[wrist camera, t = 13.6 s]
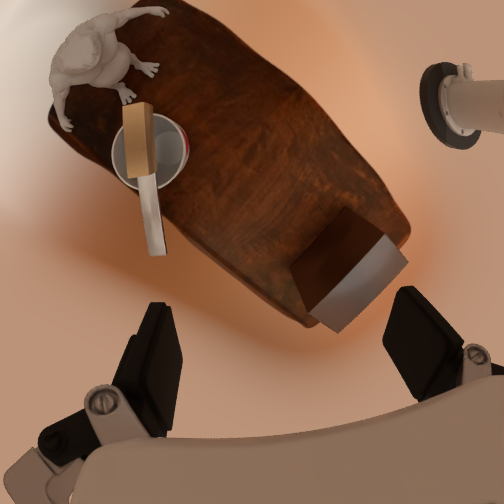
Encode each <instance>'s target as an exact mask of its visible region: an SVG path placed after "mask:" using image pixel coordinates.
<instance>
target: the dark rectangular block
mask: <svg viewBox="0 0 504 504" xmlns="http://www.w3.org/2000/svg"><path fill="white" fill-rule="evenodd" d="M407 264H408V261H407V259H406V258H405V257H404V256H403V254H402V253H401V252H400V251H399V249H398V248H397V247H396V246H395V244H394V243H393V242H392V241H391V240H390V239H389V237H388V236H387V235H386V234H385V233H384V232H382V231H381V230H380V229H378V228H377V227H375V226H374V225H373V224H371V223H370V222H368V221H367V220H365V219H364V218H363V217H361V216H360V215H358V214H357V213H355V212H354V211H352V210H351V209H349V208H348V207H345V208H344V209H343V210H342V211H341V212H340V213H339V214H338V216H337V217H336V218H335V219H334V220H333V221H332V222H331V223H330V224H329V226H328V227H327V228H326V229H325V230H324V231H323V232H322V233H321V234H320V235H319V237H318V238H317V239H316V240H315V241H314V242H313V243H312V244H311V245H310V246H309V247H308V249H307V250H306V251H305V252H304V253H303V254H302V255H301V256H300V257H299V258H298V259H297V260H296V261H295V263H294V264H293V265H292V266H291V267H290V268H289V269H290V271H291V274H292V276H293V279H294V281H295V283H296V286H297V288H298V291H299V293H300V295H301V298H302V300H303V303H304V305H305V308H306V310H307V313H308V314H309V315H311V316H312V317H314V318H315V319H317V320H318V321H320V322H321V323H323V324H324V325H325V326H327V327H328V328H330V329H332V330H333V331H335V332H336V333H339V332H340V331H342V330H343V329H344V328H345V327H346V326H347V325H348V324H349V323H350V322H351V321H352V320H353V319H354V318H356V317H357V316H358V314H360V313H361V312H362V311H363V310H364V309H365V308H366V307H367V306H368V305H369V304H370V303H371V302H372V301H373V300H374V299H375V298H376V297H377V296H378V295H379V294H380V293H381V292H382V291H383V290H384V289H385V288H386V286H388V284H389V283H390V282H391V281H392V280H393V279H394V278H395V277H396V276H397V275H398V274H399V273H400V271H401V270H402V269H403V268H404V267H405V266H406V265H407Z"/></svg>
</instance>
